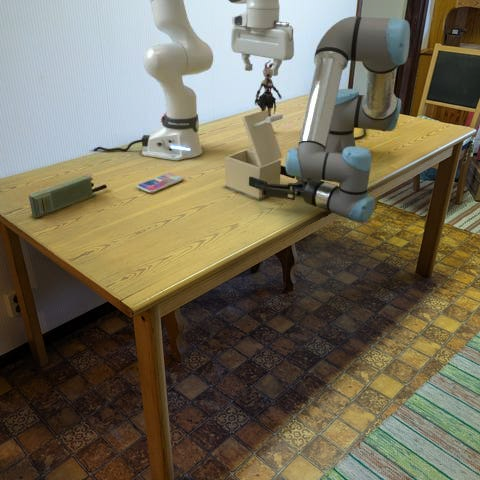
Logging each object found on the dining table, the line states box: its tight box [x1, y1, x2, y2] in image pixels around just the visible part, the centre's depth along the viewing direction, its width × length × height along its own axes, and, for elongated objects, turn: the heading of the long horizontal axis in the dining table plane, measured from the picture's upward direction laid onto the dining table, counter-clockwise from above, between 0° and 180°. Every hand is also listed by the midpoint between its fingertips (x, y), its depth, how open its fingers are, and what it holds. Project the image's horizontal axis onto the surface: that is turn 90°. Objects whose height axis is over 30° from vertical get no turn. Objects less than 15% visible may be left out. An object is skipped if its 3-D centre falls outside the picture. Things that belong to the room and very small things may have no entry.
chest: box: [224, 148, 282, 202], centre depth 159 cm, size 14×10×10 cm
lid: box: [241, 109, 284, 167], centre depth 148 cm, size 15×10×8 cm
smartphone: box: [136, 172, 184, 194], centre depth 164 cm, size 7×1×15 cm
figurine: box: [254, 59, 283, 116], centre depth 204 cm, size 15×6×30 cm, turn 132°
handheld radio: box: [28, 173, 108, 219], centre depth 150 cm, size 7×3×25 cm
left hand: (260, 72), depth 143 cm, fingers open, 8 cm apart
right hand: (264, 174), depth 156 cm, fingers open, 13 cm apart
